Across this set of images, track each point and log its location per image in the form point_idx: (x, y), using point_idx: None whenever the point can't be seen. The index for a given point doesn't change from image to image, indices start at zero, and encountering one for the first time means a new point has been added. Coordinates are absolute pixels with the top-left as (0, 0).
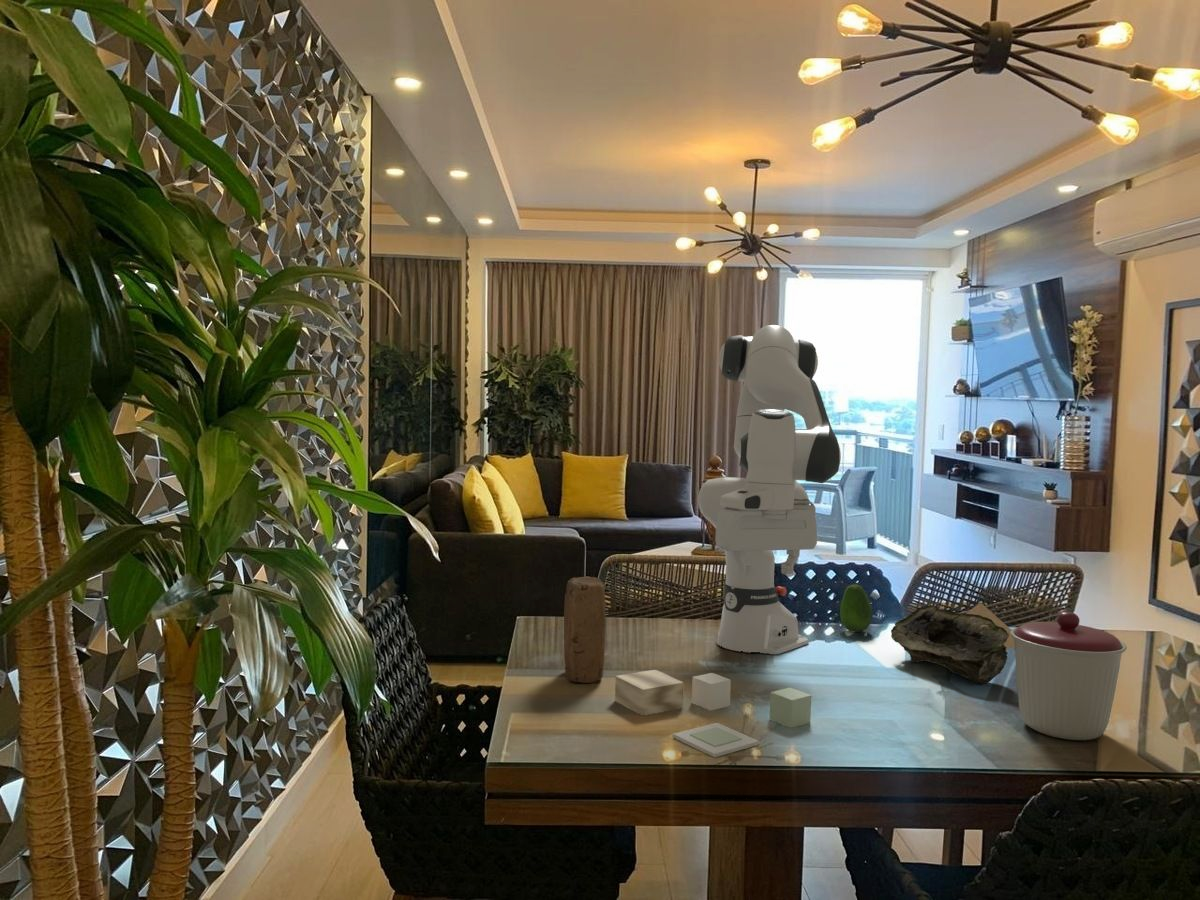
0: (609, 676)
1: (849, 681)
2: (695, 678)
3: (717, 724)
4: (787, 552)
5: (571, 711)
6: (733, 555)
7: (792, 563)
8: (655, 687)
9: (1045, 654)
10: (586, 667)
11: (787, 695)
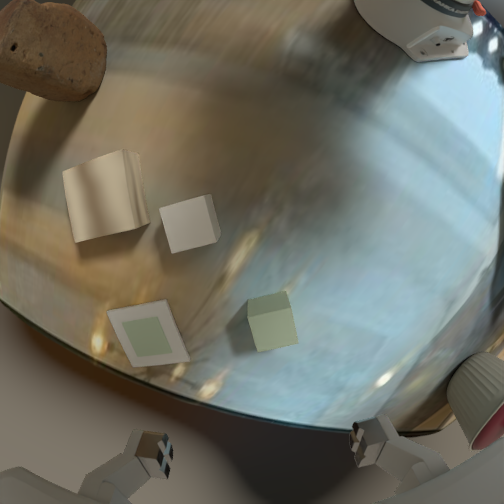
0: (118, 70)
1: (443, 200)
2: (161, 216)
3: (163, 306)
4: (410, 476)
5: (37, 199)
6: (86, 476)
7: (382, 466)
8: (91, 238)
9: (470, 436)
10: (63, 99)
11: (263, 335)
